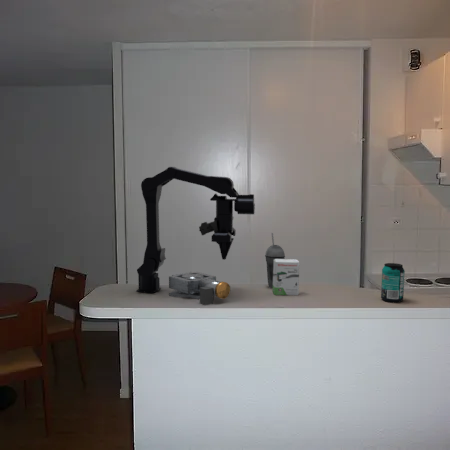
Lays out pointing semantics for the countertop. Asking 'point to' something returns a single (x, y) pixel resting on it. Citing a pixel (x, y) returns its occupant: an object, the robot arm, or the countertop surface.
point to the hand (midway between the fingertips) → (224, 259)
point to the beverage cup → (272, 254)
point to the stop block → (206, 295)
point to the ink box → (286, 277)
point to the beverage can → (392, 282)
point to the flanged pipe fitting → (199, 284)
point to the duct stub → (187, 295)
